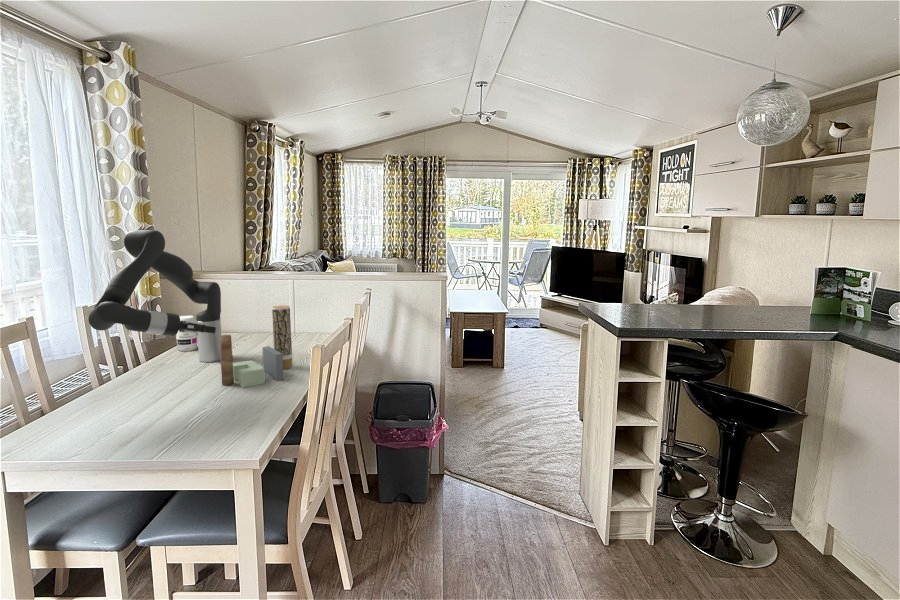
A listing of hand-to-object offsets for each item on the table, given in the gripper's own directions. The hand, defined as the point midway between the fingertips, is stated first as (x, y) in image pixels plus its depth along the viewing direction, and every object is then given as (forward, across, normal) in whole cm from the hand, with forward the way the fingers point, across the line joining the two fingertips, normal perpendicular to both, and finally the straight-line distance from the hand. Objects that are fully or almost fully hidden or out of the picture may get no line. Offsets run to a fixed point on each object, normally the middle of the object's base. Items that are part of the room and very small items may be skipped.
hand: (209, 329), depth 187 cm
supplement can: (+21, +62, +8) cm, 66 cm away
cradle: (+18, 0, +17) cm, 25 cm away
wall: (+27, -1, +14) cm, 30 cm away
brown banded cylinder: (+11, +2, +19) cm, 22 cm away
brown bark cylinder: (+35, +5, +11) cm, 37 cm away
